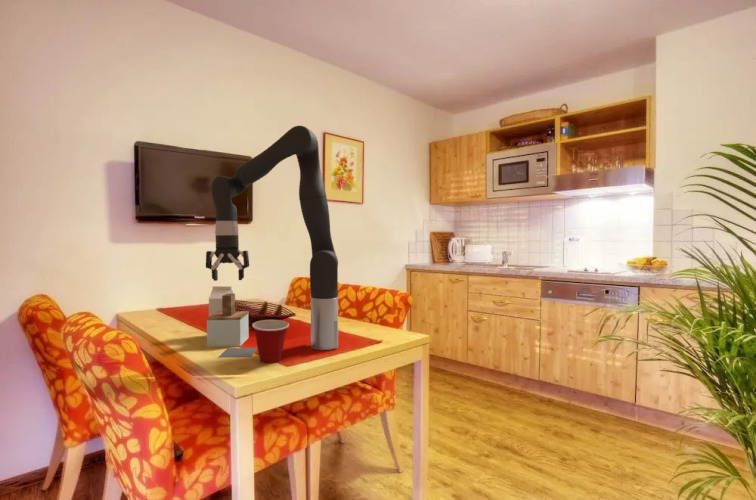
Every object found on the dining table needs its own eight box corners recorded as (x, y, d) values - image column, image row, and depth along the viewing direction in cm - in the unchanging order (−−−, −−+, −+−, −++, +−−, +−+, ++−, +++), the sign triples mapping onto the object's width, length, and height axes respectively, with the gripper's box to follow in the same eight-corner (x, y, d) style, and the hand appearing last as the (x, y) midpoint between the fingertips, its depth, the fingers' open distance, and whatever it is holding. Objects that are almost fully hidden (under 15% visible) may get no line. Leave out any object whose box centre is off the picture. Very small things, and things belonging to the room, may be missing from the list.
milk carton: (228, 338, 146) (227, 287, 145) (209, 338, 146) (208, 287, 146) (235, 334, 153) (234, 285, 153) (217, 334, 153) (216, 285, 153)
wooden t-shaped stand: (248, 313, 146) (248, 292, 146) (240, 319, 135) (240, 297, 135) (218, 313, 145) (217, 292, 145) (207, 320, 134) (207, 297, 134)
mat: (258, 349, 133) (258, 347, 133) (250, 358, 123) (250, 356, 123) (227, 349, 132) (227, 348, 132) (217, 359, 122) (217, 357, 122)
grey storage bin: (248, 339, 146) (248, 313, 145) (240, 347, 135) (240, 320, 134) (217, 339, 145) (217, 313, 145) (207, 348, 134) (206, 320, 134)
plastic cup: (265, 371, 112) (265, 329, 111) (245, 363, 119) (244, 323, 118) (296, 361, 120) (296, 322, 120) (275, 354, 127) (275, 317, 127)
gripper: (250, 234, 143) (251, 278, 143) (209, 234, 142) (211, 279, 142) (244, 234, 135) (245, 281, 136) (202, 234, 134) (203, 281, 135)
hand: (228, 280), depth 139 cm, fingers open, 8 cm apart
